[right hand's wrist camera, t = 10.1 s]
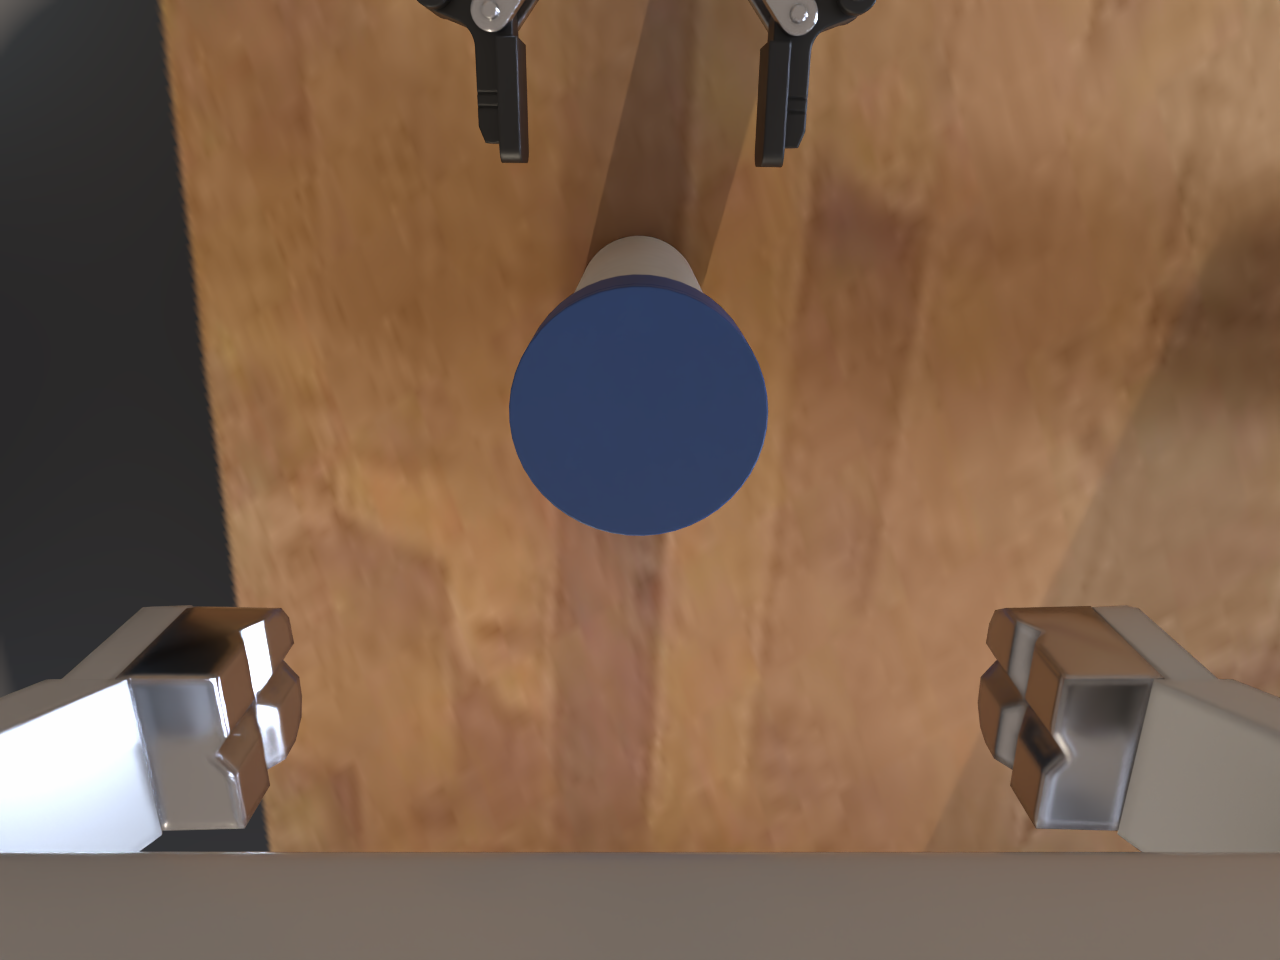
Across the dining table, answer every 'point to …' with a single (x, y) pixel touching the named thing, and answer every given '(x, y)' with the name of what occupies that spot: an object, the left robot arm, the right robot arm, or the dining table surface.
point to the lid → (638, 406)
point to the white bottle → (638, 261)
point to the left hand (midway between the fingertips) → (642, 164)
